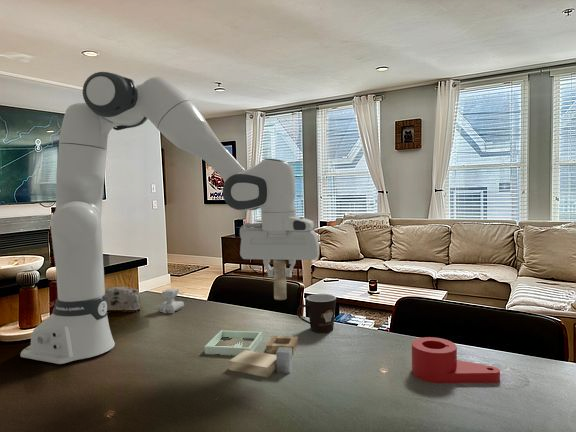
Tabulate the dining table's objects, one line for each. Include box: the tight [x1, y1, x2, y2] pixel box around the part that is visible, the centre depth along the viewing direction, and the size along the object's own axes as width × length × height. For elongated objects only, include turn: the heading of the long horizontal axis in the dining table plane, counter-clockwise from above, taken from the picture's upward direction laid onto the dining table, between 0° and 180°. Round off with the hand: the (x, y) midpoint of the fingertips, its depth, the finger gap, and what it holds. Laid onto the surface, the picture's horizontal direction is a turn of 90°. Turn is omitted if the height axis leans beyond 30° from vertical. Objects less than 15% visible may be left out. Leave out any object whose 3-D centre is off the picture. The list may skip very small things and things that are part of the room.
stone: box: [105, 286, 141, 310], centre depth 145 cm, size 13×6×10 cm, turn 76°
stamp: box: [156, 288, 185, 314], centre depth 144 cm, size 9×7×8 cm
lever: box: [411, 336, 501, 384], centre depth 92 cm, size 18×9×7 cm, turn 74°
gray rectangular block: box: [275, 347, 293, 374], centre depth 96 cm, size 3×3×5 cm
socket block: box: [265, 335, 299, 355], centre depth 109 cm, size 7×7×2 cm
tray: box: [204, 329, 263, 357], centre depth 111 cm, size 12×12×2 cm
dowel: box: [272, 259, 288, 301], centre depth 107 cm, size 3×3×10 cm
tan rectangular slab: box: [228, 350, 277, 379], centre depth 98 cm, size 10×7×3 cm
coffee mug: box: [296, 293, 337, 334], centre depth 122 cm, size 12×9×10 cm
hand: (279, 276), depth 107 cm, fingers closed on dowel, 3 cm apart
